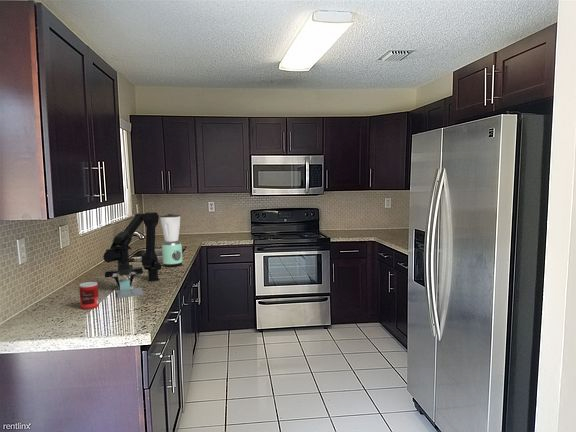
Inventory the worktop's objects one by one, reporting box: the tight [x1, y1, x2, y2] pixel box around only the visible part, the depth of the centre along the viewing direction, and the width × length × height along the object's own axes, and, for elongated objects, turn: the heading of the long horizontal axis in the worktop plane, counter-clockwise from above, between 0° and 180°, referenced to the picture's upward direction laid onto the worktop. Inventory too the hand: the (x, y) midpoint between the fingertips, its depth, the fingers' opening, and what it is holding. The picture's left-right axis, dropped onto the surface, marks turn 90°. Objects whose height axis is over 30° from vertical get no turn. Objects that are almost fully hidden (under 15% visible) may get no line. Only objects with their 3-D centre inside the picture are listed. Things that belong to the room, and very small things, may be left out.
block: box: [119, 278, 131, 290], centre depth 218 cm, size 5×5×5 cm
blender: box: [159, 213, 184, 268], centre depth 277 cm, size 19×13×35 cm
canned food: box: [78, 281, 100, 310], centre depth 188 cm, size 8×8×11 cm
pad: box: [116, 287, 144, 299], centre depth 210 cm, size 12×12×1 cm
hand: (124, 287), depth 218 cm, fingers closed on block, 5 cm apart
